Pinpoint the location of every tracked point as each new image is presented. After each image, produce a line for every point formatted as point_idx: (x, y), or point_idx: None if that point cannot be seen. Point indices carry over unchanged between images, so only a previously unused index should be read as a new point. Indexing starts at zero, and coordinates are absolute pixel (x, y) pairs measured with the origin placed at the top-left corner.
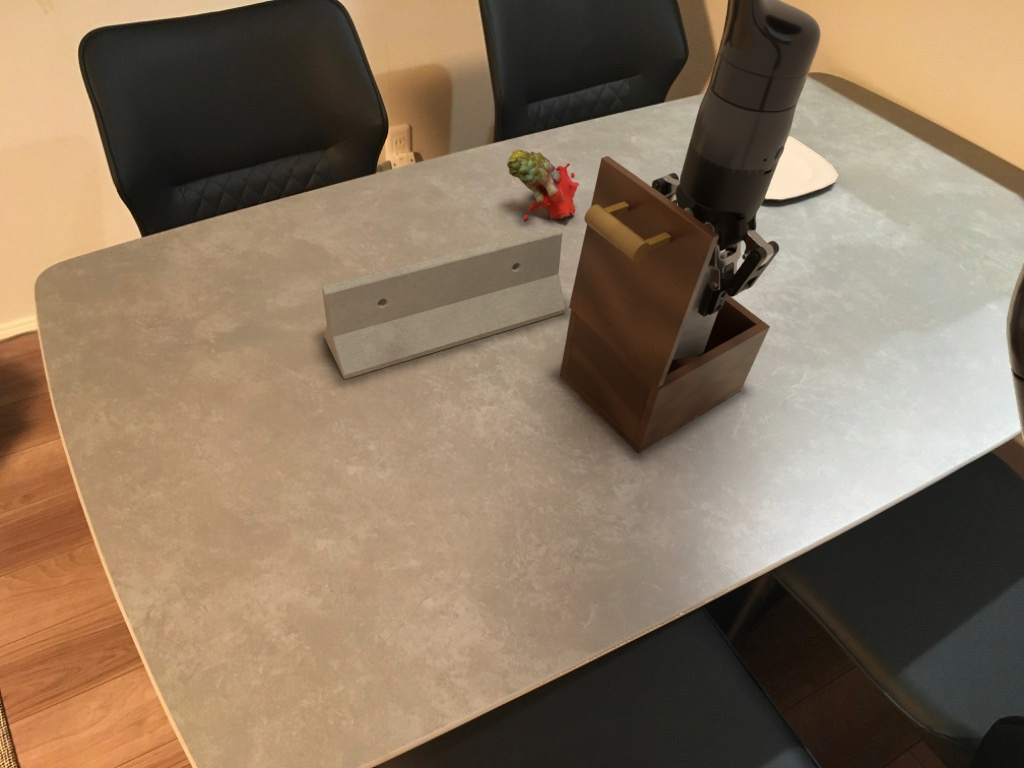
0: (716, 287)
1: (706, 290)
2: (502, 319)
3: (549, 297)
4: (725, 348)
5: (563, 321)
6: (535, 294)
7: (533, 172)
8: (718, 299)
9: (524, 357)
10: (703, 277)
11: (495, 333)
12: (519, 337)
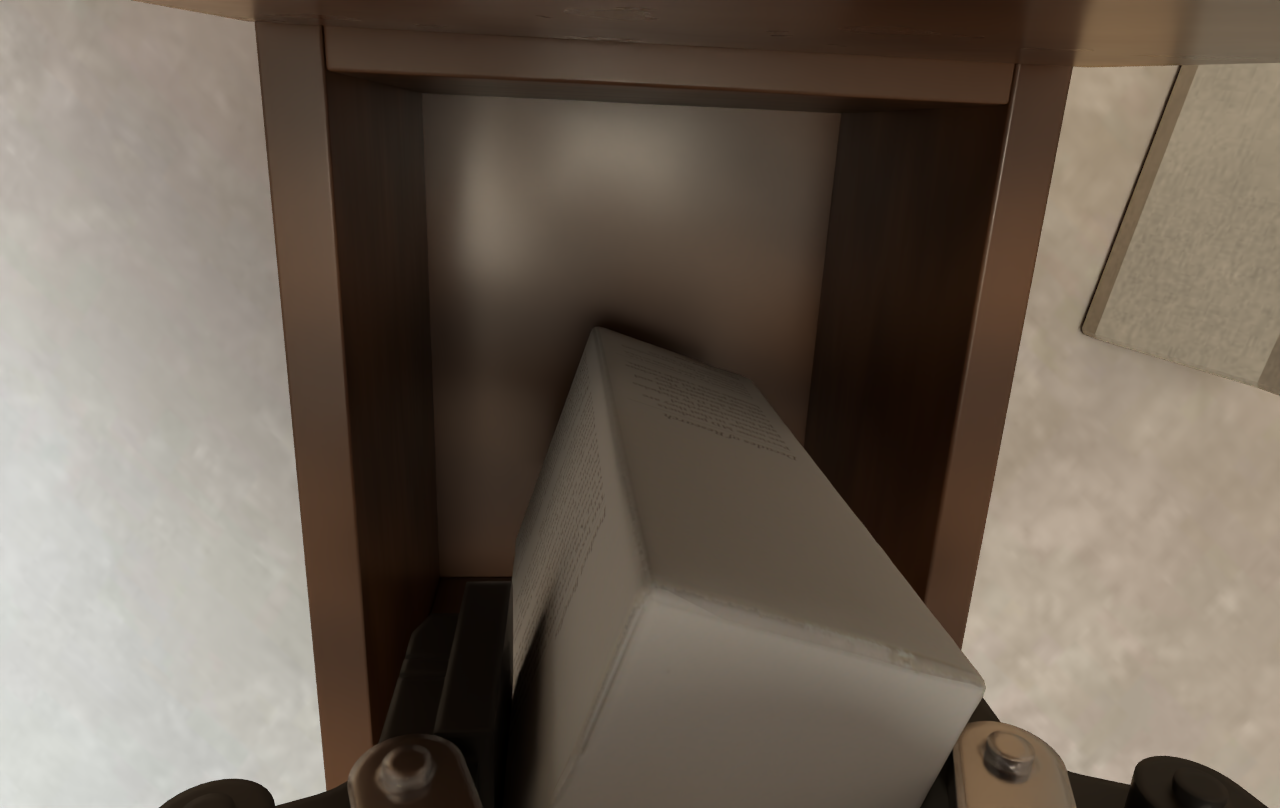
0: (382, 766)
1: (481, 702)
2: None
3: (1185, 295)
4: (324, 565)
5: (1054, 299)
6: (1243, 241)
7: None
8: (389, 716)
9: None
10: (555, 766)
11: None
12: (1119, 86)
